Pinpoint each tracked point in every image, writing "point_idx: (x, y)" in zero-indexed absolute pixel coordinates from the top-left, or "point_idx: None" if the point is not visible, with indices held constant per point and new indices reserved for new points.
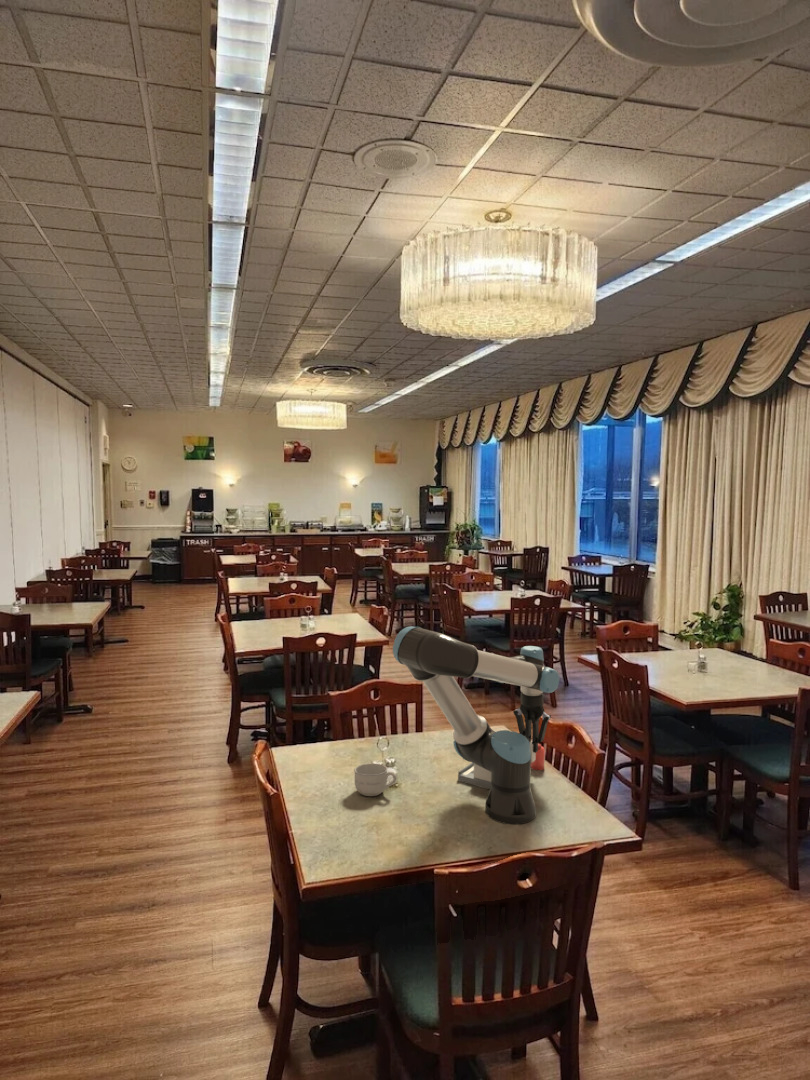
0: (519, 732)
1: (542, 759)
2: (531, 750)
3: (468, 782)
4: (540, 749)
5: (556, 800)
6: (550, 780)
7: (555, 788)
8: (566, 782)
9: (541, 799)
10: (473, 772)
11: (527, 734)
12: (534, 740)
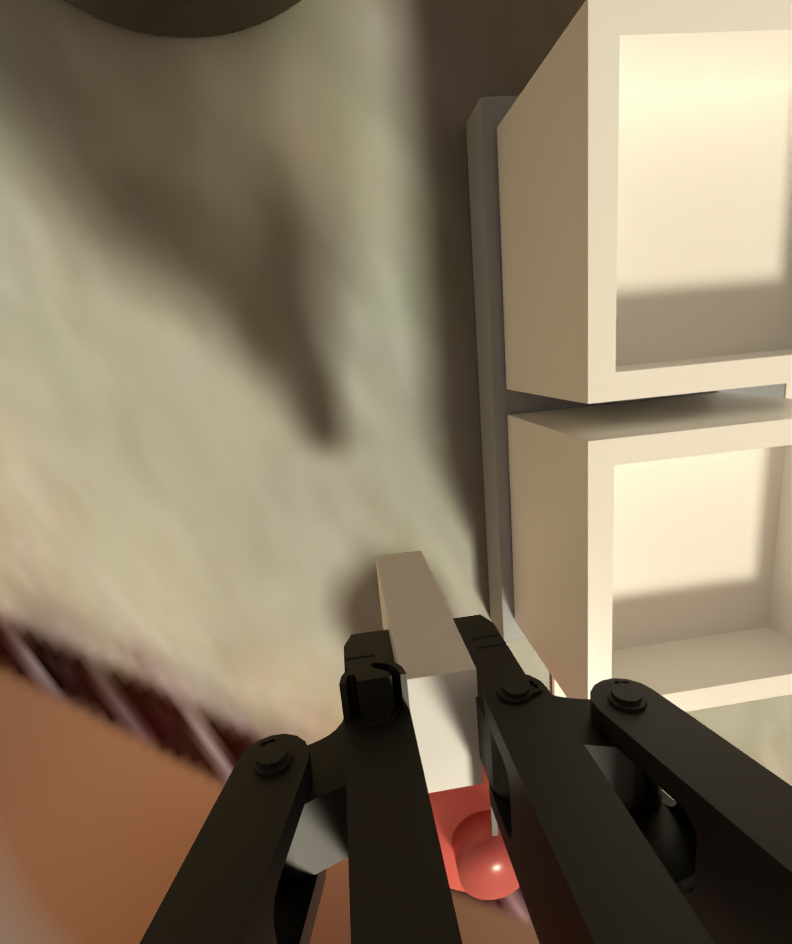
0: (744, 756)
1: None
2: (400, 617)
3: None
4: (449, 833)
5: (6, 303)
6: (258, 591)
7: (149, 497)
8: (150, 640)
9: (110, 235)
10: None
11: (553, 788)
12: (370, 738)
